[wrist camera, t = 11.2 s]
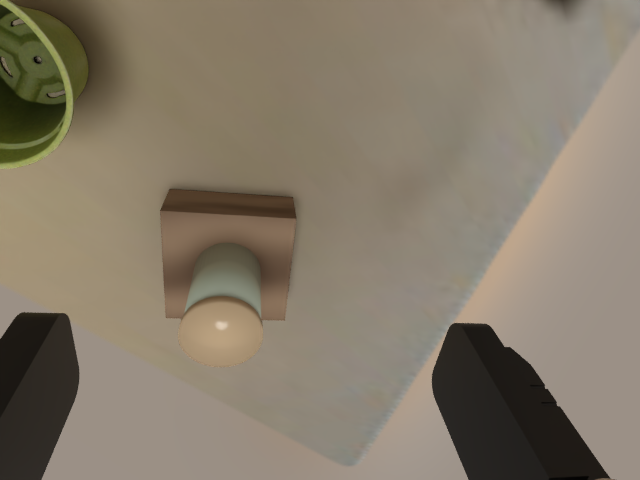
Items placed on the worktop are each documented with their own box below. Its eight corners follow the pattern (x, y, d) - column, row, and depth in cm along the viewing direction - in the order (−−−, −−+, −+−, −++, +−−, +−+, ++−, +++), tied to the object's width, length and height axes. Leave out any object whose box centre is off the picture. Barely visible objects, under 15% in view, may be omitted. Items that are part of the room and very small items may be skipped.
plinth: (169, 189, 36) (160, 210, 32) (292, 197, 37) (296, 218, 34) (173, 289, 41) (165, 318, 37) (282, 293, 42) (284, 320, 39)
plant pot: (73, -39, 28) (5, -49, 20) (138, 108, 32) (103, 145, 25) (-70, -1, 28) (-191, 4, 20) (16, 141, 33) (-56, 187, 25)
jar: (192, 239, 34) (176, 302, 27) (263, 243, 35) (265, 304, 28) (193, 296, 36) (179, 367, 30) (259, 298, 37) (260, 367, 31)
